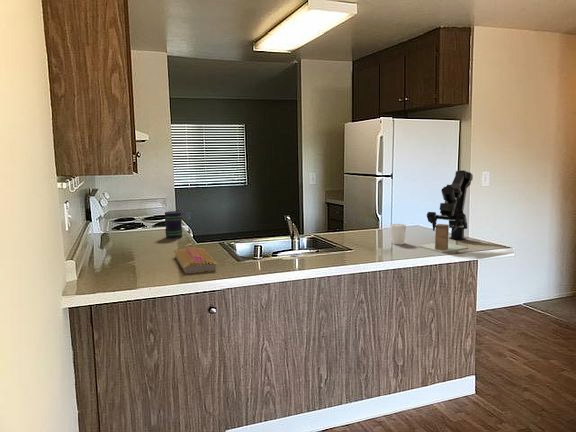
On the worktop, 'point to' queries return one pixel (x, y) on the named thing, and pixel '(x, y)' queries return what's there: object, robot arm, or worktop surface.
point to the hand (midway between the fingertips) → (442, 231)
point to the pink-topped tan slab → (195, 260)
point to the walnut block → (441, 236)
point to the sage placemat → (450, 248)
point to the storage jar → (173, 224)
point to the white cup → (398, 233)
